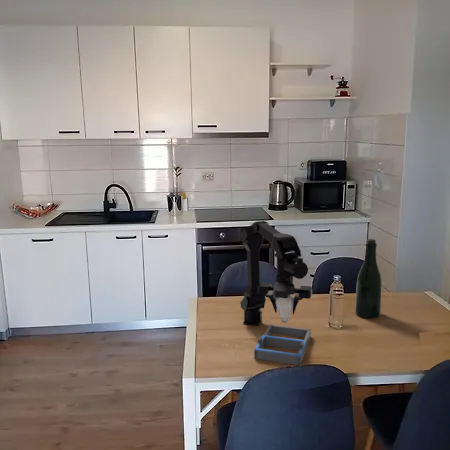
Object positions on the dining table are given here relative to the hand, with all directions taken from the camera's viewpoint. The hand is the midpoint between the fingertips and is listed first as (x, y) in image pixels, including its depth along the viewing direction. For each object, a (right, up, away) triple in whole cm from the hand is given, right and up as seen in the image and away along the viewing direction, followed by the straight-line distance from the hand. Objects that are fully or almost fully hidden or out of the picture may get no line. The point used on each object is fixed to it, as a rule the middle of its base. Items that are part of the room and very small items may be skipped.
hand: (284, 313), depth 163 cm
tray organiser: (0, -13, +3) cm, 13 cm away
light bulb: (0, -4, +1) cm, 4 cm away
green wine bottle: (+40, -7, +32) cm, 51 cm away
